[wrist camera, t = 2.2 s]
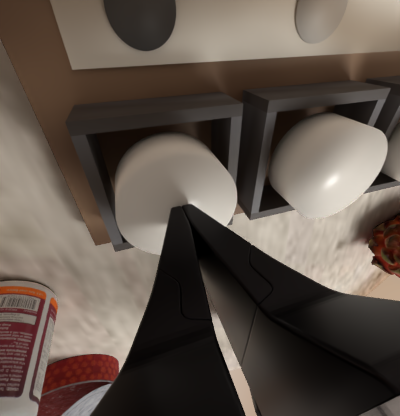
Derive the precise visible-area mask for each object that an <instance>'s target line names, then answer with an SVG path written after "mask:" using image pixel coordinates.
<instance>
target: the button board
mask: <svg viewBox="0 0 400 416" xmlns="http://www.w3.org/2000/svg"><path fill="white" fill-rule="evenodd" d="M0 38H1V41H2V43H3V45H4V47H5V49H6V52H7V54H8V56H9V58H10V60H11V62H12V65H13V67H14V69H15V71H16V73H17V75H18V78H19V80H20V82H21V84H22V86H23V89H24V91H25V93H26V95H27V97H28V99H29V102H30V104H31V106H32V108H33V110H34V112H35V115H36V117H37V119H38V121H39V123H40V126H41V128H42V130H43V132H44V134H45V136H46V139H47V141H48V143H49V145H50V147H51V149H52V152H53V154H54V156H55V158H56V160H57V163H58V165H59V167H60V169H61V171H62V173H63V176H64V178H65V180H66V182H67V184H68V187H69V189H70V191H71V193H72V195H73V197H74V200H75V202H76V204H77V206H78V208H79V210H80V213H81V215H82V217H83V219H84V221H85V224H86V226H87V228H88V230H89V232H90V234H91V237H92V239H93V241H94V243H95V245H101V244H105V243H110V242H112V245H113V247H114V250H115V252H116V251H120V250H125V249H129V248H133V247H134V246H133V245H131V244H130V243H129V242H128V241H127V240H126V239H125V238H124V237H123V235H122V234H121V232H120V230H119V228H118V226H117V222H116V214H115V173H116V170H117V166H118V164H119V162H120V160H121V158H122V157H123V155H124V154H125V153H126V151H127V150H128V149H129V148H130V147H131V146H133V145H134V144H135V143H136V142H138V141H139V140H141V139H143V138H145V137H147V136H150V135H153V134H156V133H161V132H180V133H185V134H188V135H191V136H193V137H195V138H197V139H198V140H200V141H201V142H203V143H204V144H205V145H206V146H207V147H208V148H209V150H210V151H211V152H212V153H213V154H214V155H215V157H216V158H217V159H218V160H219V161H220V163H221V164H222V165H223V166H224V167H225V169H226V170H227V171H228V172H229V174H230V175H231V176H232V178H233V180H234V182H235V185H236V189H237V204H236V208H235V211H234V214H233V215H235V214H239V213H245V214H246V215H247V217H248V218H249V219H250V220H253V219H257V218H262V217H266V216H270V215H274V214H279V213H283V212H287V211H292V210H295V209H294V208H293V207H292V206H291V205H290V204H289V203H288V202H287V201H286V200H285V199H284V198H283V197H282V196H281V195H280V194H279V193H278V192H276V191H275V190H274V188H273V187H272V186H271V184H270V181H269V176H268V170H269V164H270V160H271V157H272V154H273V152H274V150H275V148H276V146H277V145H278V143H279V142H280V140H281V139H282V138H283V136H284V135H285V134H286V133H287V132H288V131H289V130H290V129H291V128H292V127H293V126H294V125H296V124H297V123H298V122H300V121H301V120H303V119H304V118H306V117H308V116H310V115H313V114H316V113H320V112H332V113H335V114H338V115H340V116H343V117H346V118H349V119H352V120H354V121H357V122H360V123H363V124H366V125H368V126H371V127H374V128H377V129H379V130H381V131H382V132H383V133H384V134H385V136H386V139H387V141H388V139H389V137H390V136H391V134H392V132H393V130H394V128H395V127H396V125H397V124H398V123H399V122H400V0H0ZM398 185H400V182H399V181H397V180H395V179H393V178H391V177H389V176H388V175H386V174H384V173H382V172H381V171H380V172H379V174H378V176H377V177H376V179H375V180H374V181H373V183H372V184H371V185H370V186H369V188H368V189H367V190H366V191H365V192H364V193H369V192H373V191H377V190H381V189H386V188H390V187H394V186H398ZM364 193H363V194H364ZM232 220H233V216H232V218H231V220H230V222H229V223H228V225H232Z"/></svg>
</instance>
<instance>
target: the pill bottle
mask: <svg viewBox="0 0 400 416" xmlns="http://www.w3.org/2000/svg"><path fill="white" fill-rule="evenodd" d="M57 308H58V300H57V297H56V295H55V294H54V293H53V292H52V291H51V290H50V289H49V288H47V287H45V286H43V285H41V284H38V283H34V282H29V281H1V282H0V416H37V412H38V408H39V403H40V398H41V393H42V387H43V382H44V377H45V372H46V367H47V362H48V357H49V351H50V346H51V341H52V336H53V330H54V325H55V320H56V314H57Z"/></svg>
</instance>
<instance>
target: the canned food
mask: <svg viewBox="0 0 400 416" xmlns="http://www.w3.org/2000/svg"><path fill="white" fill-rule="evenodd" d="M118 374H119V363H118V360H117V359H116V358H114V357H112V356H109V355H104V354H89V355H81V356H75V357H71V358H67V359H63V360H60V361H57V362H55V363H53V364H50V365H48V366H47V367H46V372H45V377H44V382H43V387H42V393H41V398H40V403H39V408H38V412H37V416H90V414H91V413H92V412H93V410H94V409H95V407H96V406H97V404H98V403H99V401H100V400H101V399H102V397H103V396H104V394H105V393H106V391H107V390H108V389H109V387H110V386H111V384H112V383H113V381H114V380H115V378H116V377H117V375H118Z"/></svg>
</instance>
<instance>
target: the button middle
mask: <svg viewBox="0 0 400 416" xmlns="http://www.w3.org/2000/svg"><path fill="white" fill-rule="evenodd" d="M387 149H388V143H387V139H386V136H385V134H384V133H383V132H382V131H381V130H379V129H377V128H374V127H371V126H368V125H366V124H363V123H360V122H357V121H354V120H352V119H349V118H346V117H343V116H340V115H338V114H335V113H332V112H320V113H316V114H313V115H310V116H308V117H306V118H304V119H303V120H301V121H300V122H298V123H297V124H296V125H294V126H293V127H292V128H291V129H290V130H289V131H288V132H287V133H286V134H285V135H284V136H283V138H282V139H281V140H280V142H279V143H278V145H277V146H276V148H275V150H274V152H273V154H272V157H271V160H270V164H269V170H268V176H269V181H270V184H271V186H272V187H273V188H274V190H275V191H276V192H278V193H279V194H280V195H281V196H282V197H283V198H284V199H285V200H286V201H287V202H288V203H289V204H290V205H291V206H292V207H293V208H294V209H295V210H296V211H297V212H298V213H299V214H301V215H302V216H303V217H306V218H309V219H320V218H325V217H328V216H331V215H333V214H335V213H337V212H339V211H341V210H343V209H345V208H346V207H348V206H349V205H350V204H352V203H353V202H354V201H355V200H357V199H358V198H359V197H360V196H361V195H362V194H363V193H364V192H365V191H366V190H367V189H368V188H369V186H370V185H371V184H372V183H373V181H374V180H375V179H376V177H377V176H378V174H379V172H380V170H381V168H382V166H383V164H384V162H385V159H386V155H387Z"/></svg>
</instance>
